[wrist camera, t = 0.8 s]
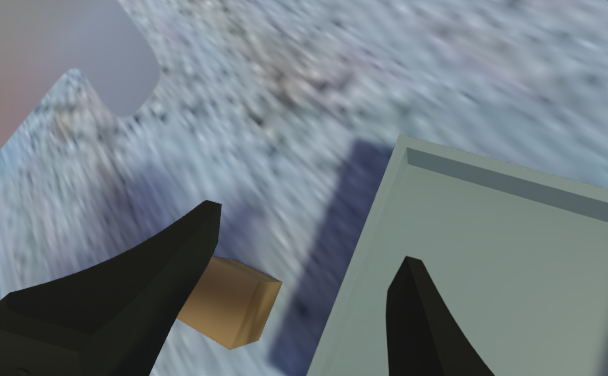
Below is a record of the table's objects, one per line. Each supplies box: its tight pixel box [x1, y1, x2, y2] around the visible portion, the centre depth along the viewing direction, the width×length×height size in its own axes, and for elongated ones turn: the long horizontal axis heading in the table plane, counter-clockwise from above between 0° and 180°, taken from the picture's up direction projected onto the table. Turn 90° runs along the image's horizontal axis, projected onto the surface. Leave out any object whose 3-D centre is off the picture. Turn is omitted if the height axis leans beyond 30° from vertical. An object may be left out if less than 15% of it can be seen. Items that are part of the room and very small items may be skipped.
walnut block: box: [177, 256, 282, 350], centre depth 28 cm, size 5×5×5 cm
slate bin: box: [306, 134, 608, 376], centre depth 23 cm, size 20×20×4 cm
